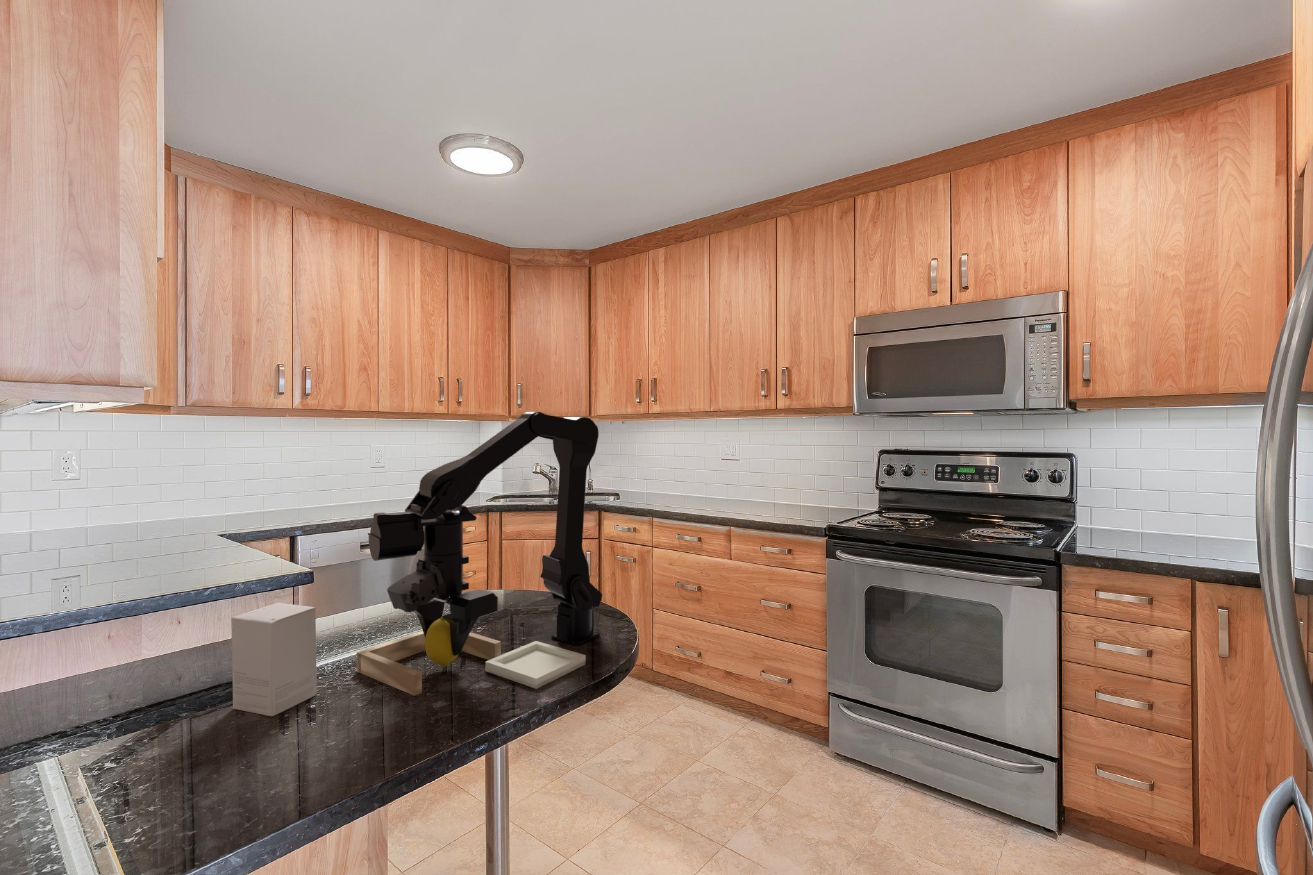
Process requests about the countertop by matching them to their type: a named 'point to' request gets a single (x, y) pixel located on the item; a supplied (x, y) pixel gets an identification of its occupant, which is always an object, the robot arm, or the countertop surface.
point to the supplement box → (274, 658)
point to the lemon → (439, 643)
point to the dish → (535, 664)
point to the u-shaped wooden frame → (407, 679)
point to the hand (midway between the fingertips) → (444, 650)
